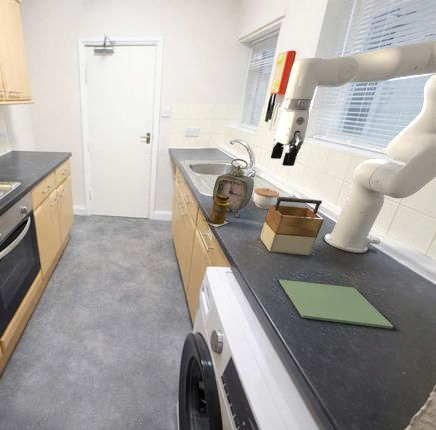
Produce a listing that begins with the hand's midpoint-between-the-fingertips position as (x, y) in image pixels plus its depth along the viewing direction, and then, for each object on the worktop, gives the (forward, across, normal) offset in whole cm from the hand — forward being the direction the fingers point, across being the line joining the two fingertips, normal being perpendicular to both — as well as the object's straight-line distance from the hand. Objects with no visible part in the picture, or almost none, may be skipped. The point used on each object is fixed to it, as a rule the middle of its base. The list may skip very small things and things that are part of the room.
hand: (281, 161), depth 87 cm
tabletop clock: (+30, +25, +6) cm, 40 cm away
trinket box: (+31, +37, -13) cm, 50 cm away
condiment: (+30, +13, +14) cm, 36 cm away
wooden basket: (+23, -2, -8) cm, 25 cm away
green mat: (+30, -31, -8) cm, 44 cm away
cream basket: (+30, -2, -7) cm, 31 cm away
